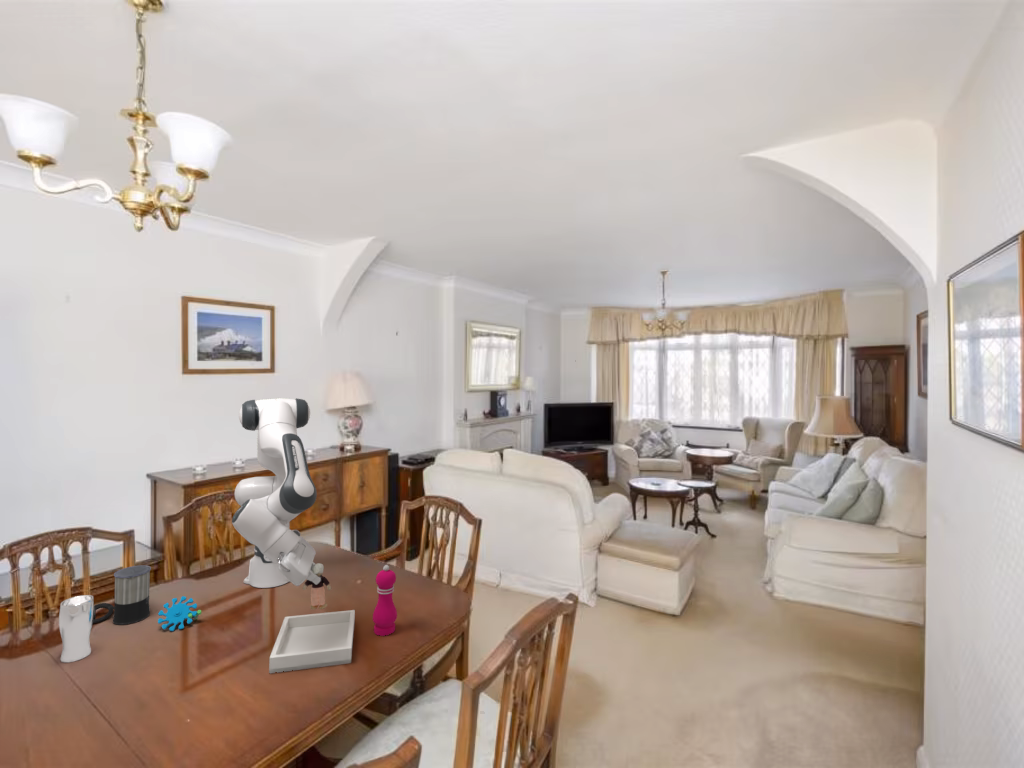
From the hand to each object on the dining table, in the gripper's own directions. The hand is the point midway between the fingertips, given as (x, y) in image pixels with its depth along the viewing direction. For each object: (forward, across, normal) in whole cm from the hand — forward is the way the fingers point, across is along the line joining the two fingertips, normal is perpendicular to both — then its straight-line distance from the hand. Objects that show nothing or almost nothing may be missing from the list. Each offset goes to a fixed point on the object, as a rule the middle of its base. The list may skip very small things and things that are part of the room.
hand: (319, 579), depth 136 cm
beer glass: (-30, +9, +57) cm, 65 cm away
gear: (-16, +21, +43) cm, 50 cm away
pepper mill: (+27, +4, 0) cm, 27 cm away
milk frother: (-30, +30, +57) cm, 71 cm away
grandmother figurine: (+5, +1, +6) cm, 8 cm away
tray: (+13, 0, +14) cm, 19 cm away
